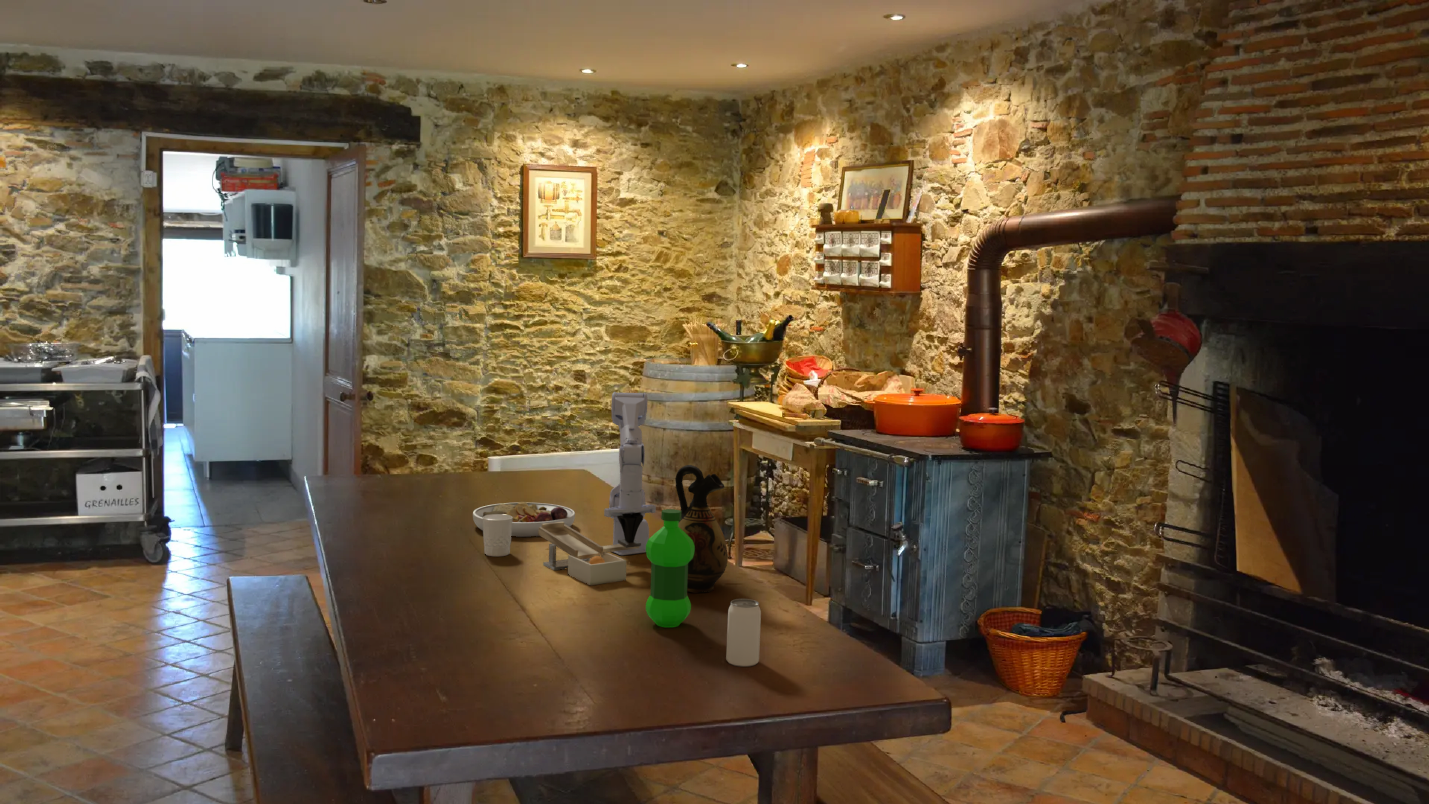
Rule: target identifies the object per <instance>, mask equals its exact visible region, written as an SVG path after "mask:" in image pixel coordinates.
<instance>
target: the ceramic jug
mask: <svg viewBox="0 0 1429 804" xmlns="http://www.w3.org/2000/svg"><path fill="white" fill-rule="evenodd" d="M687 475H693V476H695V480H694V481H692V483H691V484H690V485H689V486H688V489H687V490H688V492H689V493H692V494H693V497H692V500H691V502H690V504H689V506H688V501H687V498H686V494H685V489H684V484H683V481H684V476H687ZM724 488H725V484H724V483H723V482H722V481H721V479H720V477H719V476H718V475H716V474H715V473H711V474H707V475H706V476H705V477H704V474H703V472H702V470H701V469H700V468H699V467H697V466H694V465H692V464H686V465H684V466H681V467H680V468H679V469H678V470H677V472H676V475H675V491H676V493H677V497H678V500H679V506H680V511H681V520H680V521H679V525H678V527H679V528H680V529H682V530H683V531H684V532H685V533H686V534H687V535H688V536H689V537H690V538H691V539H692V540H693V543H694V546H695V551H694V556H693V558H692V559H691V560H690V562H689V563H688V579H687V593H688V592H690V593H693V594H701V593H711V592H712V591H714V589H715V585H716V583H717V582H718V581H719V580H720V578H721V577H722V576H723V574H724V573H725V571H726V569H727V566H728V560H729V559H728V558H729V555H728V554H729V553H728V548H727V541H726V538H725V535H724V533H723V531H722V528H721V526H720V524H719V523H718V521H717V519H716V517H715V515H714V514H713V512H712V511H711V508H710V506H709V505H708V501H707V500H708V499H707V497H708V496H709V494H710V493H713V492H716V491H720V490H722V489H724Z"/></svg>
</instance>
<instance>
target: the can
mask: <svg viewBox="0 0 1429 804" xmlns="http://www.w3.org/2000/svg"><path fill="white" fill-rule="evenodd" d="M761 618H762V611H761V608H760V602H759V601H757V600H755V599H750V598H736V599H733V600H731V601H730V605H729V607H728V610H727V631H726V655H725V656H726V657H725V659H726V661H727V662H728V664H729V665H731V666H735V667H740V668H745V667H746V668H747V667H748V668H749V667H753V666H756V665H757V664H758V663H759V661H760V647H761V646H760V643H761V638H760V637H761V624H762V623H761V621H762V620H761Z"/></svg>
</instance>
